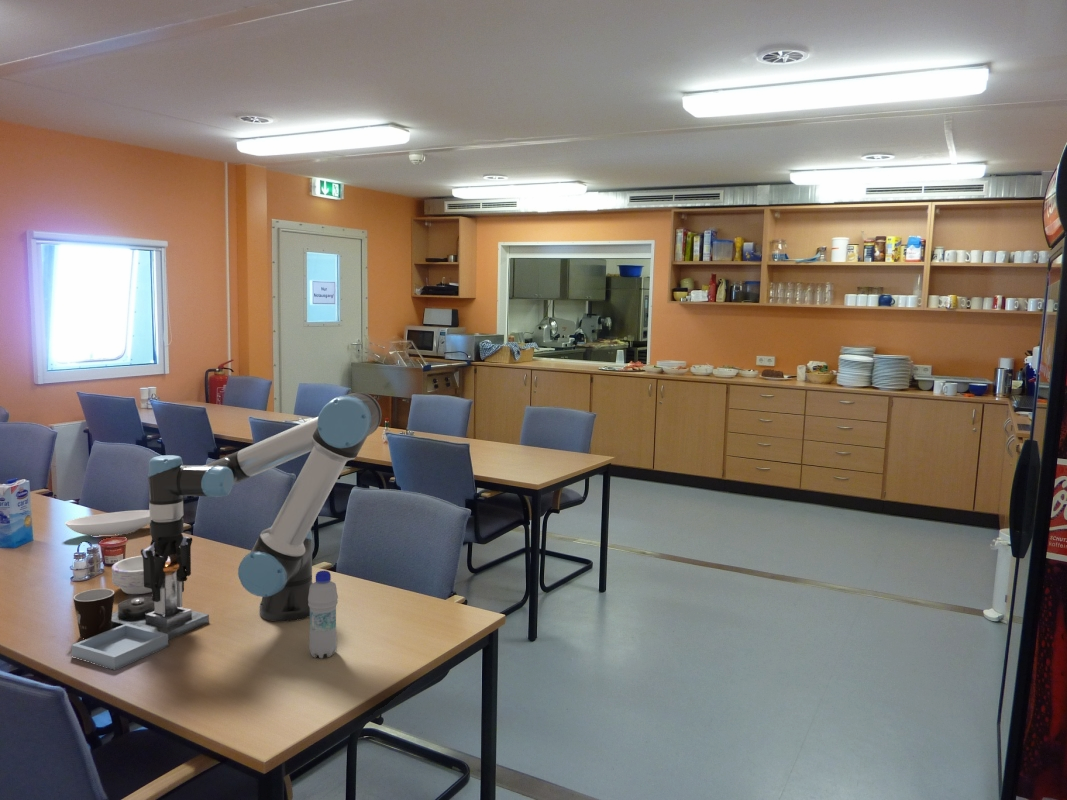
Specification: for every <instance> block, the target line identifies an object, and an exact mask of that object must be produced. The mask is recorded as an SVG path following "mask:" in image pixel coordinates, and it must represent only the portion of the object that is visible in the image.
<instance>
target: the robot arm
mask: <svg viewBox="0 0 1067 800" xmlns="http://www.w3.org/2000/svg"><path fill="white" fill-rule="evenodd" d="M382 415H383V414H382V409H381V406H380V404H379V402H378V401H377V400H376V398H375V397H373V396H372V395H370V394H368V393H365V392H360V391H357V392H351V393H348V394H345V395H340V396H337V397H335V398H332V399H331V400H330V401H328V402H327V403H326V404H325V405H324V406H323V407H322V409H321V410H320V412H319V413H318V416H317V417H314V418H312V419H309V420H307V421H304V422H302V423H299V424H297V425H295V426H292V427H291V428H288V429H286V430H284V431H282V432H279V433H277V434H275V435H272V436H269V437H267V438H265V439H263V440H261V441H259V442H256V443H254V444H251V445H249V446H247V447H244V448H242V449H240V450H238V451H236V452H232V453H231V454H228V455H226V456H223V457H222V458H221V457H220V458H219V459H217V460H214V461H212V462H209V463H206V464H204V465H187V464H184V463H183V458H182V457H181V456H180V455H174V454H173V455H172V454H171V455H170V454H169V455H168V454H166V455H158V456H153V457H152V458H150V460H149V461H148V472H147V473H148V474H147V478H148V493H149V495H148V496H149V503H148V504H149V505H148V506H149V509H148V510H149V511H150V518H151V519H152V520H151V521H150V524H149V535H150V536H151V542H150V545H149V546H147V547H146V548H141V549H140V556H142V557H143V573H144V587H146V588H150V589H152V592H151V597H152V600H153V601H154V606H155V613H158V614H165V589H164V588H162V581H163V575H164V573H163V568H165V563H166V561H167V560H168V557H169V558H170V561H171V562H174V563H179V569H178V570H177V606H178V607H183V593H184V591H185V582H187V580H188V577H189V576H191V574H192V566H191V565H192V562H191V561H192V559H191V557H192V555H191V554H192V553H191V552H192V549H191V548H192V543H193V538H192V537H189V536H185V535H183V532H184V528H185V527H184V518H183V516H184V497H190V496H191V497H208V498H219V497H220V498H221V497H222V498H223V497H227V496H228V495H229V494H231V491H232V490H233V487H234V485H236V484H237V483H240V482H242V481H245V480H247V479H249V478H251V477H254V476H256V475H259V474H261V473H264V472H265V471H266V472H267V470H271V469H272V468H275V467H277V466H279V465H282V464H285V463H287V462H288V461H291V460H294V459H296V458H298V457H300V456H303V455H306V454H308V453H309V452H310V453H309V455H308V457H307V459H306V460H305V463H304V465H303V467H302V468H301V470H300V472H299V474H298V476H297V478H296V480H295V482H294V484H293V485H292V487H291V489H290V491H289V493H288V494H287V496H286V499H285V501H284V503H283V505H282V506H281V508H280V510H279V511H278V513H277V516H276V517H275V519H274V521H273V523H272V525H271V527H270V526H269V527H268V528H266V529H263V530H262V531H260V534H259V535H258V538H257V540H256V542H255V544H254V545H253V547H252V549H251V551H250V552H249V553H247V554H246V555H244V557H243V558H242V560H241V561H240V562H239V565H238V568H237V571H238V572H237V575H238V579H239V581H240V584H241V586H242V588H244V589H245V590H246V591H247V592H248V593H250V595H251V594H252V595H253V596H255V597H261V601H260V604H259V615H260V617H261V618H262V619H263V620H267V621H270V622H280V623H281V622H283V623H284V622H295V621H300V620H304V619H307V618H310V607H309V605H308V603H309V602H308V596H309V588H310V585H311V584H313V583H314V582H313V541H314V539H313V537H312V535H313V534H312V526H313V525H314V523H315V521H316V519H317V517H318V515H319V513H320V512H321V510H322V508H323V506H324V505H325V503H326V501H327V500H328V497H329V496H330V493H331V491H332V490H333V488H334V486H335V484H336V482H337V480H338V478H339V477H340V475H341V473H342V471H343V469H344V468H345V465H346V464H347V462H348V461H352V460H355V459H356V458H357V457H358V455H359V453H360V451H361V449H362V447H363V445H364V443H365V441H366V440H367V438H368V437H369V436H371V435H372V434H373V433H374V432H375V431H377V429H378V428H379V426H380V424H381V421H382ZM183 496H184V497H183ZM153 555H154V556H153ZM160 556H162V557H160ZM154 560H155V561H154ZM156 583H157V584H156ZM183 608H184V607H183Z"/></svg>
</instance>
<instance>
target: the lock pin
mask: <svg viewBox="0 0 1067 800" xmlns="http://www.w3.org/2000/svg"><path fill="white" fill-rule="evenodd" d="M178 569H179V563H174V562H171V561H169V562H166V563H165V568H163V573H164V575H163V581H162V588H164V589H165V614H160V616H163V617H167V618H168V617H170V616H173V615H175V614H178V606H177V570H178Z"/></svg>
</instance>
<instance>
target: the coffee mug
mask: <svg viewBox="0 0 1067 800" xmlns="http://www.w3.org/2000/svg"><path fill="white" fill-rule="evenodd" d="M72 599H73V603H74V609H75V615H76V620H77V627H78V632H79V637H81V638H84V639H88V638H91V637H93V636H96V635H98V634H101V633H103V632H106V631H108V630H111V620H112V613H113V609H114V599H115V591H114V589H110V588H93V589H88V590H84V591H81V592H79V593H77V594H75V595H73V597H72ZM81 638H80V639H81ZM84 639H83V640H84Z"/></svg>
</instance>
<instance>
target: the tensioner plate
mask: <svg viewBox="0 0 1067 800" xmlns="http://www.w3.org/2000/svg"><path fill="white" fill-rule="evenodd" d="M126 623H127V624H131V625H134V626H138V627H142V628H146V629H150V630H154V631H158V632H162V633H165V634H168V641H169V640H171V639H173V638H176V637H179V636H180V635H183V634H185V633H188V632H190V631H191V630H194V629H196V628H199V627H201V626H203V625H206V624H208V623H210V614H209V613H204V612H200V611H196V610H192V609H190V608H185V607H178V614H175V615H173V616H170V617H168V618H167V617H163V616H160V614H158V613H155V606H154V601H153V600H152V596H138V597H137V596H136V597H132V598H128V599H124V600H123V601H120V602H119V603H118V604H117V611H115V612H112V620H111V629H114V628H116V627H119V626H121V625H124V624H126Z"/></svg>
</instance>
